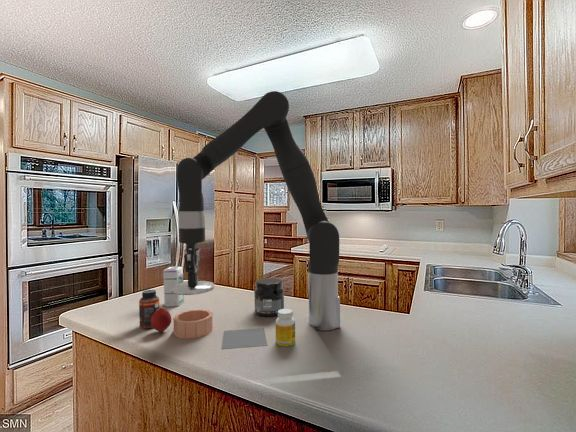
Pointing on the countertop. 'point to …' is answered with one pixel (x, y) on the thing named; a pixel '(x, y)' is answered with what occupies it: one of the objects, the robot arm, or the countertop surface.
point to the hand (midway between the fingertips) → (192, 283)
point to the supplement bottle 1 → (147, 308)
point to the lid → (192, 287)
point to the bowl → (193, 323)
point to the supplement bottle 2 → (285, 328)
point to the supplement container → (268, 297)
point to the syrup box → (171, 278)
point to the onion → (161, 319)
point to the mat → (244, 338)
